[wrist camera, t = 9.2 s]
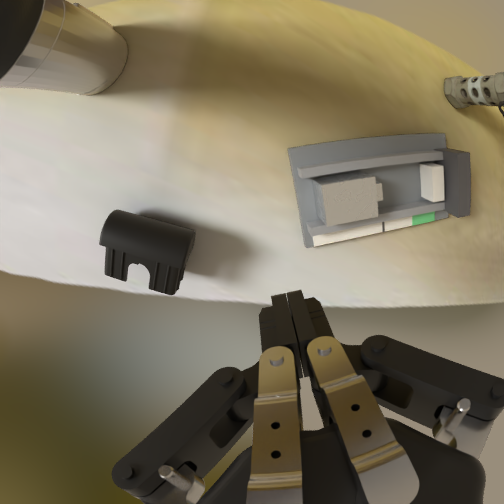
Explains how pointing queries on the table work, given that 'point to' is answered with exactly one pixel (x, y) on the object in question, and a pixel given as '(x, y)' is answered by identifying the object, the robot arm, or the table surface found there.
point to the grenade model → (475, 91)
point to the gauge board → (386, 172)
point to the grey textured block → (347, 197)
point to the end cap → (146, 249)
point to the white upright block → (432, 181)
